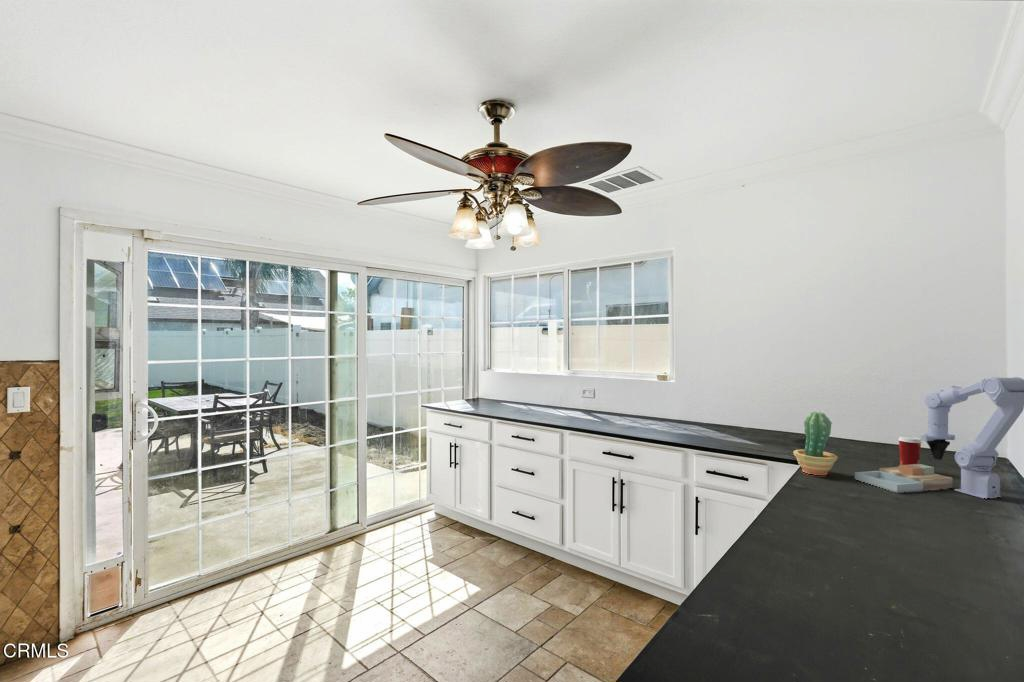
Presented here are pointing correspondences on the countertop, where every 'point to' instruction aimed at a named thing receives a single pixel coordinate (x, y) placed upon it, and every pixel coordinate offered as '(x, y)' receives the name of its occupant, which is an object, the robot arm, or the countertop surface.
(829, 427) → the potted cactus
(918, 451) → the paper cup
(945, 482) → the wooden board
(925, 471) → the sage tile
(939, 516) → the countertop surface
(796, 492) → the countertop surface
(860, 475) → the box
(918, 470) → the terracotta tile
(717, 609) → the countertop surface
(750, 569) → the countertop surface
